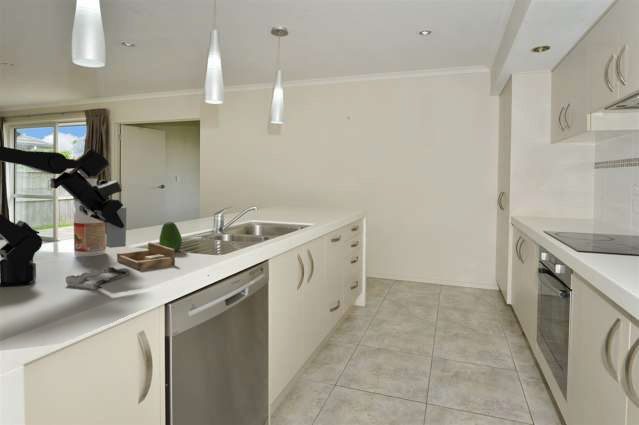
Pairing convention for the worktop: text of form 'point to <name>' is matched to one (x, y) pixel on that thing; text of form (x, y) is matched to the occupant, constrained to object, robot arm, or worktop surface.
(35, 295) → the worktop surface
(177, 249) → the avocado
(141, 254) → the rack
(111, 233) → the grey rectangular block
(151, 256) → the offcut
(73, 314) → the worktop surface
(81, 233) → the fruit juice
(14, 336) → the worktop surface
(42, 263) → the worktop surface
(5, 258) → the robot arm
